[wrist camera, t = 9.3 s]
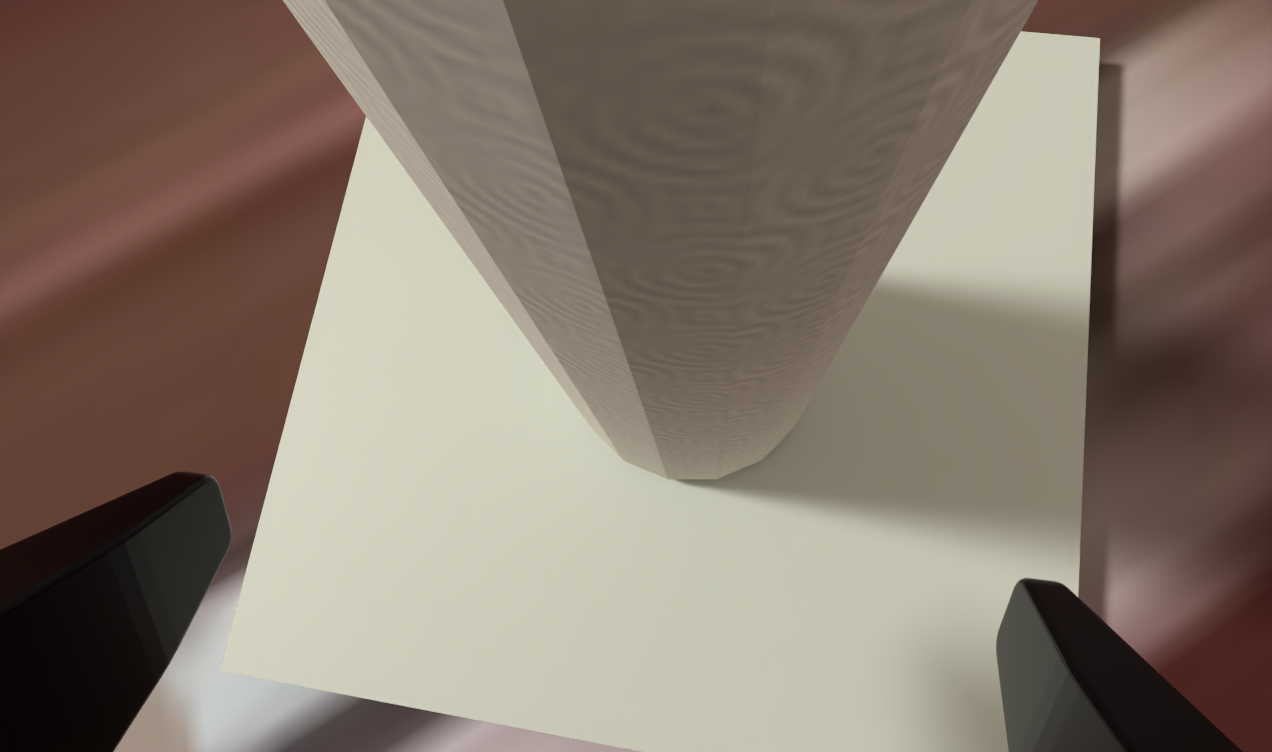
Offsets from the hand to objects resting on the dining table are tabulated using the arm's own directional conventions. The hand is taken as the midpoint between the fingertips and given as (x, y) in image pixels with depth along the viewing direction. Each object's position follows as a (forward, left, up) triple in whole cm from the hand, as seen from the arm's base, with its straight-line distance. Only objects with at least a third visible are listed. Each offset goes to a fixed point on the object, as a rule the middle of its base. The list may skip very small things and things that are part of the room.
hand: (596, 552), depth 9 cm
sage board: (+6, 0, -12) cm, 14 cm away
